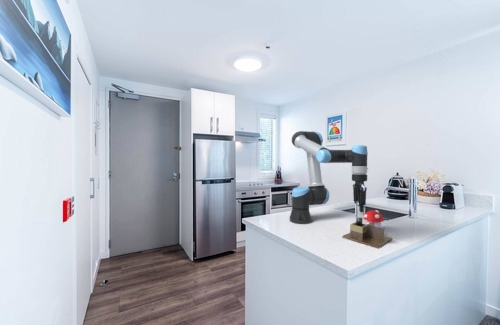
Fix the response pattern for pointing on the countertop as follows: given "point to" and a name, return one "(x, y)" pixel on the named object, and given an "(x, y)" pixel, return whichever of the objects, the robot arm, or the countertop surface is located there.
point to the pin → (358, 220)
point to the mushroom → (374, 218)
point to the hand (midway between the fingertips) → (359, 216)
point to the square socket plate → (367, 235)
